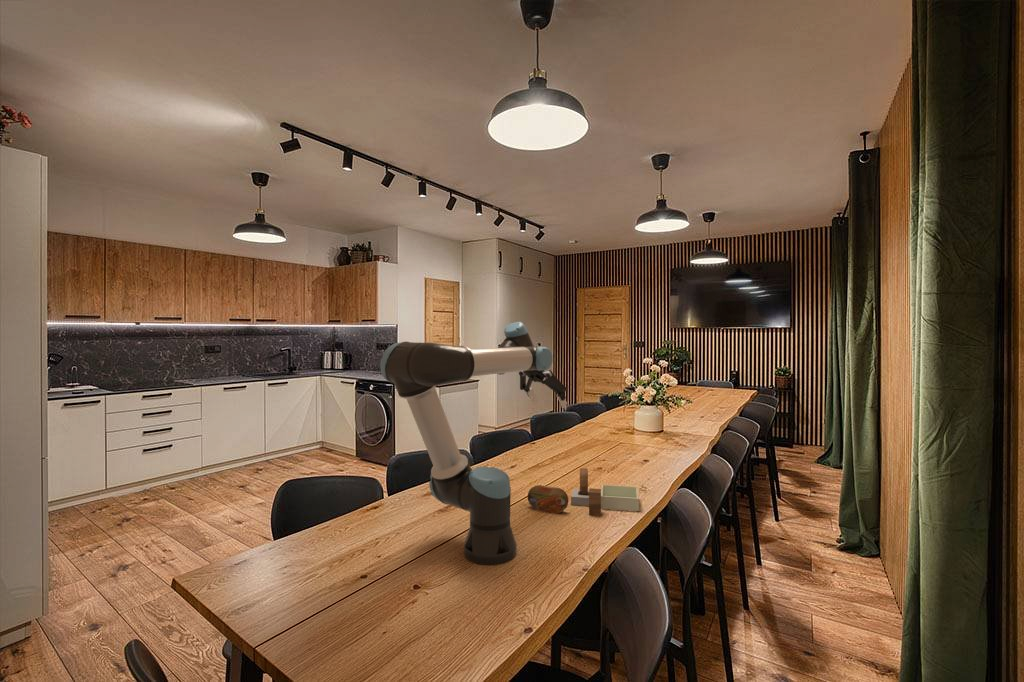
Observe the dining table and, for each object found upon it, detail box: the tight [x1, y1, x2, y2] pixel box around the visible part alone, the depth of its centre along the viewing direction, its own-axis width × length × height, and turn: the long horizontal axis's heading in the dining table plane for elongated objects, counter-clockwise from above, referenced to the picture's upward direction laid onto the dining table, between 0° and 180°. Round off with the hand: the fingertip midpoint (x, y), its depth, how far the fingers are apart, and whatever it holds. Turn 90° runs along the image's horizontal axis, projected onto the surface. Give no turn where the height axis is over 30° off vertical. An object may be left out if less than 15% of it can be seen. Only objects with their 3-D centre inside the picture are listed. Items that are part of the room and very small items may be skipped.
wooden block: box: [588, 487, 602, 517], centre depth 167 cm, size 4×4×8 cm
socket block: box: [570, 488, 589, 507], centre depth 179 cm, size 9×9×3 cm
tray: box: [600, 484, 640, 512], centre depth 176 cm, size 13×13×5 cm
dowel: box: [579, 467, 589, 496], centre depth 178 cm, size 3×3×12 cm
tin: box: [527, 484, 569, 514], centre depth 170 cm, size 15×3×8 cm, turn 62°
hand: (550, 404), depth 182 cm, fingers open, 13 cm apart
